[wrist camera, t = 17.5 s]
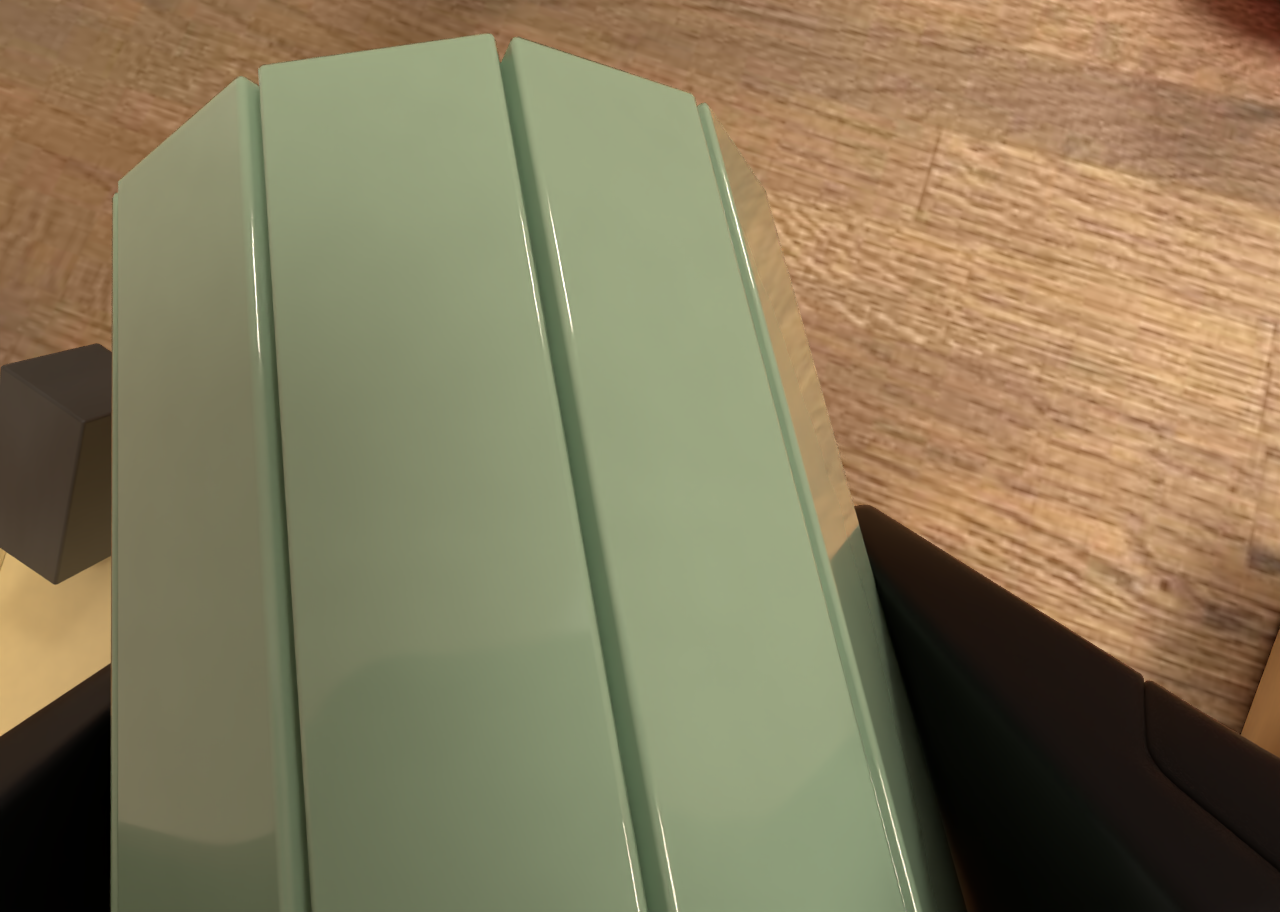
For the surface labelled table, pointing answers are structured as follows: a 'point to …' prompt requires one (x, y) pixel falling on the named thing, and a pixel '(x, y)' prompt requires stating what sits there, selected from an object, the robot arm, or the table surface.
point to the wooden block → (1266, 706)
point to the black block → (56, 461)
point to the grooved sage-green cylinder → (485, 515)
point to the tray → (49, 635)
